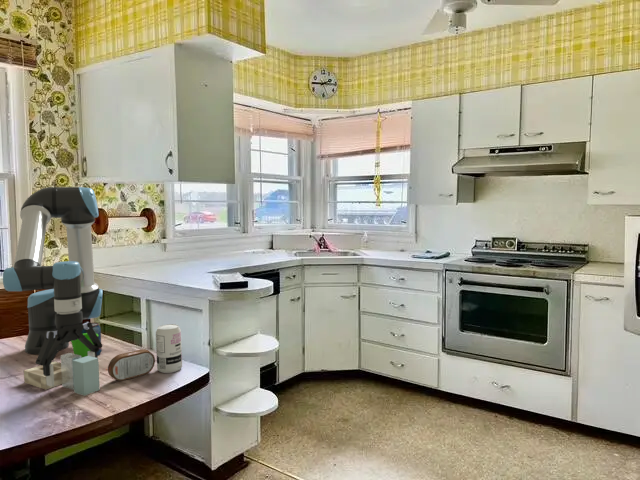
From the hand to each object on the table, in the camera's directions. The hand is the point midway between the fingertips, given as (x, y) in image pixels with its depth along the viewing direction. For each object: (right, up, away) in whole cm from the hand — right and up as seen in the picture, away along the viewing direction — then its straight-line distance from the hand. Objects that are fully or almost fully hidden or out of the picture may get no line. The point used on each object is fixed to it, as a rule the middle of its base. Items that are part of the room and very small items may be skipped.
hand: (72, 378), depth 145 cm
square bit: (+7, -3, -4) cm, 8 cm away
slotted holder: (-10, -2, +5) cm, 11 cm away
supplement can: (+26, -2, +15) cm, 30 cm away
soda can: (-9, -1, +31) cm, 32 cm away
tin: (+16, -2, +8) cm, 18 cm away
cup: (-5, -2, +18) cm, 19 cm away
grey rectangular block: (0, -3, 0) cm, 3 cm away
